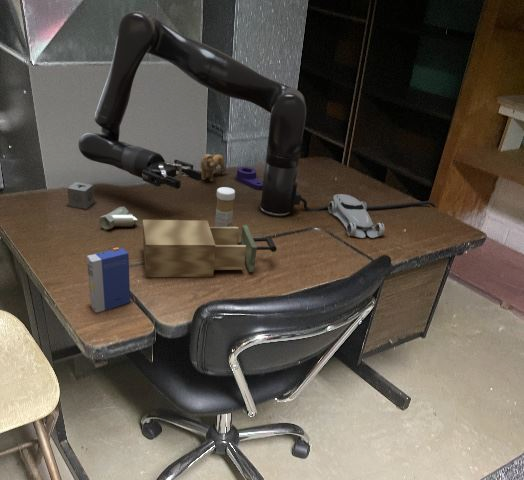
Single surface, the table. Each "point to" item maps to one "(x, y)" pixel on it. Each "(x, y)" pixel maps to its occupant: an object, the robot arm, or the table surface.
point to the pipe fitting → (117, 219)
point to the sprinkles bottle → (224, 207)
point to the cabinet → (178, 248)
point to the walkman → (108, 279)
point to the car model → (354, 216)
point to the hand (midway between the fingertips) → (190, 180)
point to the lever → (249, 177)
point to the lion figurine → (211, 165)
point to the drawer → (236, 248)
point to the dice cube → (80, 195)
